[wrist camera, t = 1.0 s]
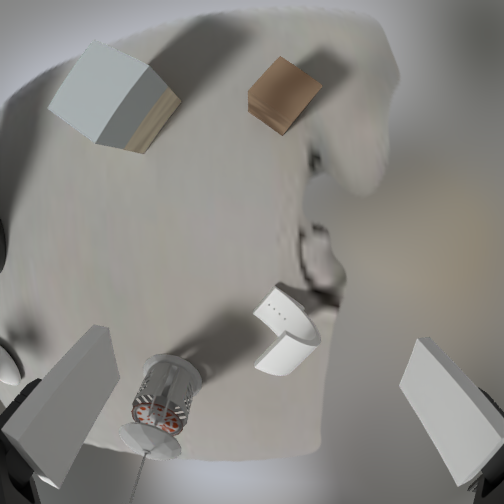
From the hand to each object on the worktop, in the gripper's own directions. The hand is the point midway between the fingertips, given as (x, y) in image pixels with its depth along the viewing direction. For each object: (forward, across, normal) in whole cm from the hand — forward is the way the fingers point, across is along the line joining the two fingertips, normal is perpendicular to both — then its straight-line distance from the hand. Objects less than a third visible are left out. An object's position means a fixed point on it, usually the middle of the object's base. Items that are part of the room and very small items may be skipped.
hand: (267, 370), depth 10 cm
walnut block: (+24, +2, +16) cm, 29 cm away
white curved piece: (+24, +4, -9) cm, 26 cm away
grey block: (+18, -16, +16) cm, 29 cm away
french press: (+24, -12, -22) cm, 35 cm away
